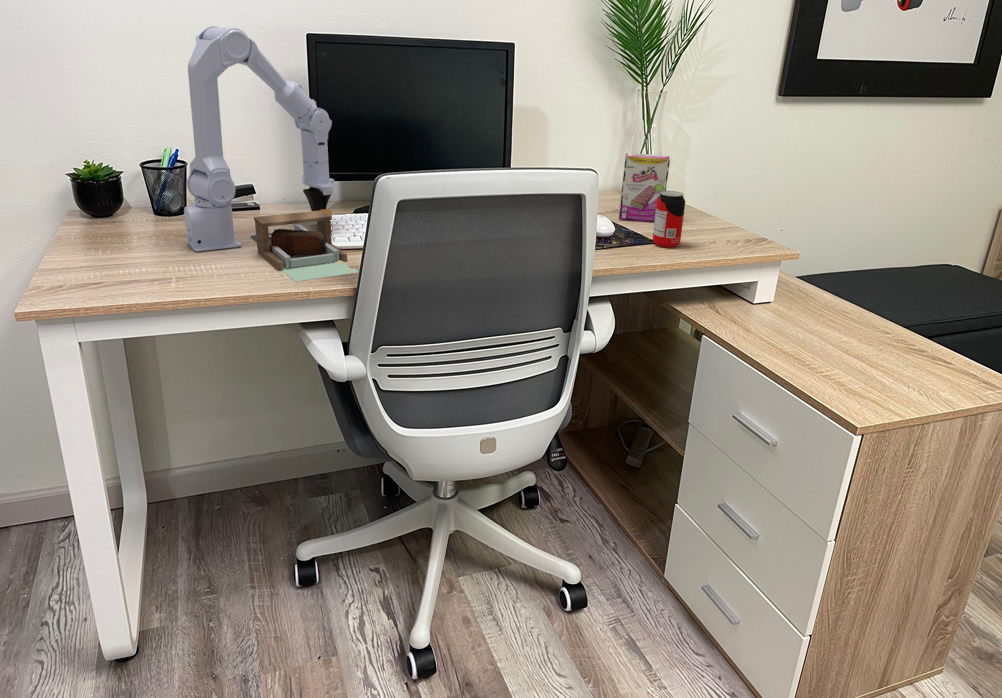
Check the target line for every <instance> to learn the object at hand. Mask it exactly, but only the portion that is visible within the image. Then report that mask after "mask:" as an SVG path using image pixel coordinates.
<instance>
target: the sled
mask: <svg viewBox="0 0 1002 698" xmlns="http://www.w3.org/2000/svg"><path fill="white" fill-rule="evenodd" d="M321 211H323V212H324V213H326V214H328V215H329V216H331V220H332V221H333V211H332V210H331V209H330V208H326V209H322V210H321ZM312 225H313V226H315V225H317V221H316V222H307V223H298V224H293V230H303V231H310V230H308V229H307V228H306V227H305V226H312ZM269 243H270V252H272V253H273V254H274V255H275V256H276V257H278V258H279V259H280V260H281V261H282V262H284V267H285V268H293V267H300V266H308V265H315V264H322V263H330V262H337V261H339V251H338V250H337V249H335V248H334V247H333V246H331V245H330V244H328V243H327V242H326V244H325V252H324V253H323V255H317V256H300V257H293V258H291V255H287V254H286V253H285V252H284V251H282V250H281V249H280V248H279V247H277V246H271V244H272V242H271V235H269Z"/></svg>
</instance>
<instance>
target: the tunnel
mask: <svg viewBox="0 0 1002 698" xmlns="http://www.w3.org/2000/svg"><path fill="white" fill-rule="evenodd" d="M330 220H331V216H329V215H328V214H326V213H324V212H323V211H321V210H320V211H311V210H310V211H303V212H292V213H283V214H282V213H281V214H273V215H262V216H255V217H253V221H254V226H255V227H254V228H255V235H256V239H257V242H256V248H257V249H256V250H257V254H258V255H260V257H261V258H263V259H264V260H265V261H266V262H267V263H269V264H270V265H271V266H272V267H273V268H274V269H275V270H277V272H278V271H282V270H284V262H282V261H281V260H280V259H279V258H278V257H276V256H275V255H274V254H273V253H272V252H270V243H269V234H270V232H269V227H276V226H277V227H278V226H287V225H294V224H298V223H307V222H316V221H317V224H316V229H317V230H316V231H320V232H322V233H323V234H324V236H325V238H326V242H327V243H328V244H330V245H331V246H333V247H334V248H335V249H337V250H338V251H339V260H341V261H345V262H348V254H347V252H345V251H343V250H342V249H340V248H339V247H337V246H336V245H335V244H333V243H332V242H333V241H332V231H331V221H330Z"/></svg>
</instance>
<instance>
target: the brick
mask: <svg viewBox="0 0 1002 698" xmlns="http://www.w3.org/2000/svg"><path fill="white" fill-rule="evenodd" d="M271 233H272V234H271V242H272V244H271V246H277V247H279V248H280V249H281V250H282V251H284V252H285V253H286V254H287V255H289V256H296V257H309V256H317V255H324V254H323V253H324V252H325V244H326V238H325V236H324V234H323V233H322V232H320V231H317V230H309V231H303V230H294V229H287V228H276V229H274V230H273V232H271Z"/></svg>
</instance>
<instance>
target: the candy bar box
mask: <svg viewBox="0 0 1002 698" xmlns="http://www.w3.org/2000/svg"><path fill="white" fill-rule="evenodd" d="M670 161H671V159H670V155H662V154H660V155H659V154H647V153H646V154H645V153H636V152H634V153H633V152H626V153H625V155H624V164H623V166H624V167H623V174H622V183H621V193H620V202H619V211H618V212H619V213H618V220H619V221H633V222H647V223H654V222H655V213H656V204H657V199H658V197H659V196H660V194H661V192H662V191H667V187H668V177H669V171H670V170H669V169H670Z"/></svg>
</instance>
